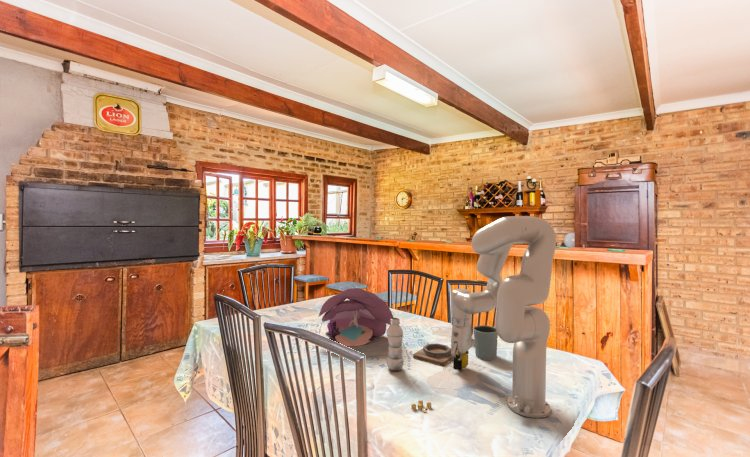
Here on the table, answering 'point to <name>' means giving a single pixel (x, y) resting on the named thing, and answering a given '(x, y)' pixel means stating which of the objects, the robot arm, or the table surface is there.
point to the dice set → (420, 404)
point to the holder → (435, 354)
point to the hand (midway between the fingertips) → (460, 366)
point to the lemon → (463, 359)
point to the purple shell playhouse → (355, 316)
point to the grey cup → (485, 342)
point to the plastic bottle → (395, 345)
